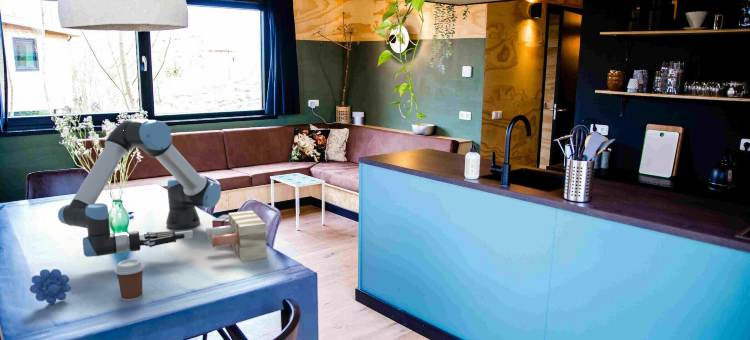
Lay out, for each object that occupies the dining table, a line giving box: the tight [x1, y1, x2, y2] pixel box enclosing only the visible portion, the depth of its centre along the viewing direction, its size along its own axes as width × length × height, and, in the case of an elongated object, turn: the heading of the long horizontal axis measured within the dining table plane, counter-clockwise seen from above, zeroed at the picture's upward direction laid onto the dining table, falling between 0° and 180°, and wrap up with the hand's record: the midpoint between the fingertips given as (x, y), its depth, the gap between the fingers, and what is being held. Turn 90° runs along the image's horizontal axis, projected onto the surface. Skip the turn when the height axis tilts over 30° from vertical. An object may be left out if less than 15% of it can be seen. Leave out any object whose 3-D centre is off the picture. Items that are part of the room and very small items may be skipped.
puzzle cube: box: [211, 214, 229, 228], centre depth 240 cm, size 10×10×10 cm
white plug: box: [205, 225, 233, 240], centre depth 228 cm, size 5×14×5 cm, turn 116°
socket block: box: [227, 210, 268, 262], centre depth 226 cm, size 22×10×14 cm, turn 26°
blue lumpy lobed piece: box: [29, 268, 72, 305], centre depth 177 cm, size 12×7×12 cm, turn 136°
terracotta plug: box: [210, 233, 239, 248], centre depth 217 cm, size 5×14×5 cm, turn 116°
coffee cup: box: [113, 258, 145, 302], centre depth 182 cm, size 9×9×12 cm
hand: (192, 233), depth 222 cm, fingers closed
